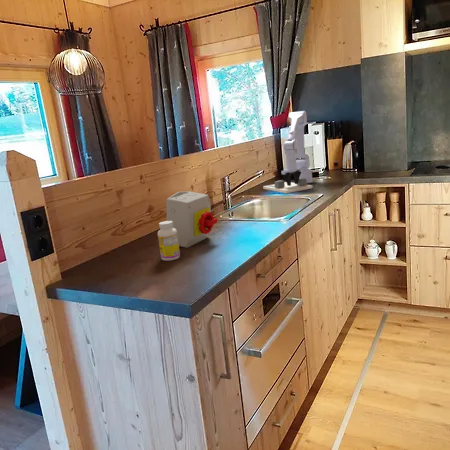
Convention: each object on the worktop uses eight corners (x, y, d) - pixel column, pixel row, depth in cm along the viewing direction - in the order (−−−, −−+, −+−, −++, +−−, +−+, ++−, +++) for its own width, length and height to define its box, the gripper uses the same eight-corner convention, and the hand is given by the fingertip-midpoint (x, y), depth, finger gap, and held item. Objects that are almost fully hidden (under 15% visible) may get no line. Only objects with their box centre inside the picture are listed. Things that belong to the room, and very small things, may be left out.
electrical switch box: (199, 255, 157) (199, 202, 151) (167, 246, 164) (166, 195, 158) (220, 243, 169) (221, 193, 163) (190, 235, 176) (189, 188, 170)
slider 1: (281, 186, 258) (280, 179, 257) (284, 186, 255) (284, 180, 254) (274, 187, 257) (274, 180, 256) (278, 188, 253) (277, 181, 252)
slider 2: (302, 183, 259) (301, 177, 258) (306, 184, 255) (306, 177, 254) (296, 184, 257) (296, 178, 256) (300, 185, 253) (300, 179, 252)
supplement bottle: (161, 256, 153) (156, 221, 150) (180, 254, 153) (175, 219, 150) (160, 262, 146) (155, 225, 143) (180, 259, 147) (175, 223, 144)
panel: (287, 184, 275) (287, 181, 274) (312, 188, 252) (312, 185, 251) (263, 188, 268) (263, 186, 267) (286, 193, 245) (286, 190, 244)
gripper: (295, 159, 257) (296, 182, 260) (277, 163, 249) (279, 186, 253) (303, 159, 251) (305, 182, 255) (285, 163, 244) (287, 187, 247)
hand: (292, 184), depth 253 cm, fingers open, 5 cm apart
